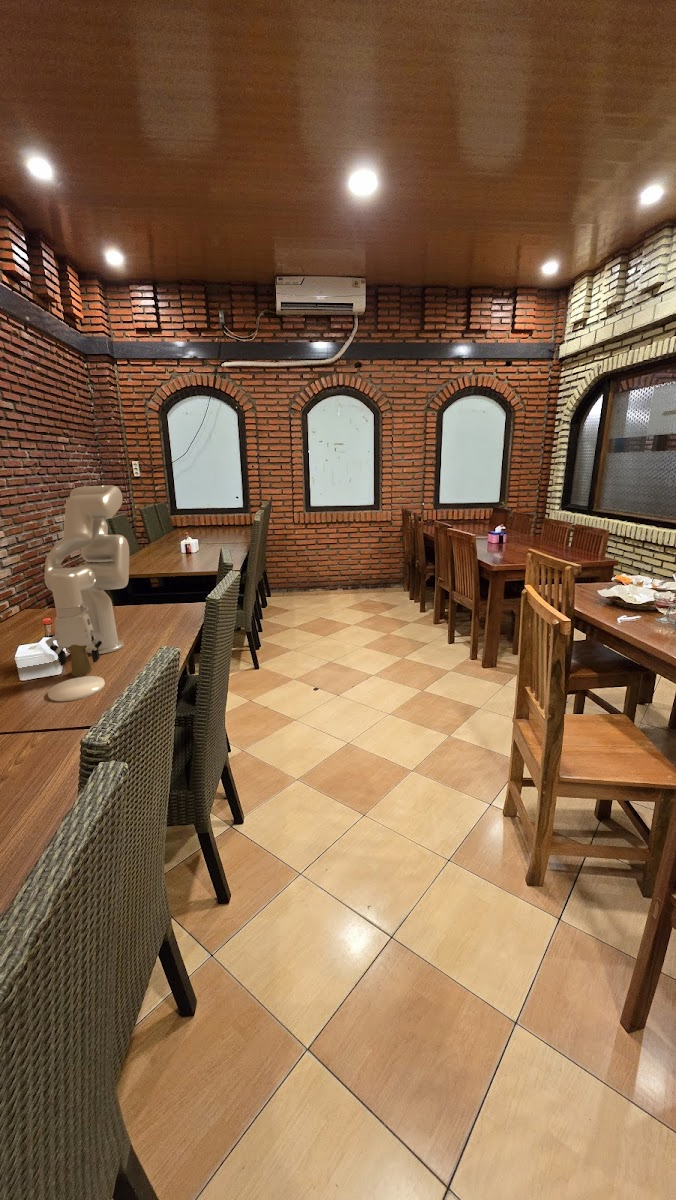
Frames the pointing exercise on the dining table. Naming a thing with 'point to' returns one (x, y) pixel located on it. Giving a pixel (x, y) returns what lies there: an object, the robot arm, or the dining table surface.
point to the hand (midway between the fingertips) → (80, 662)
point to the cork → (79, 660)
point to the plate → (76, 688)
